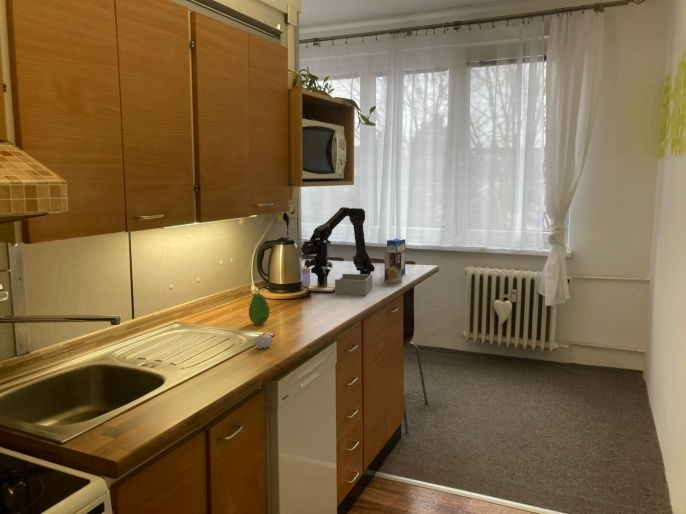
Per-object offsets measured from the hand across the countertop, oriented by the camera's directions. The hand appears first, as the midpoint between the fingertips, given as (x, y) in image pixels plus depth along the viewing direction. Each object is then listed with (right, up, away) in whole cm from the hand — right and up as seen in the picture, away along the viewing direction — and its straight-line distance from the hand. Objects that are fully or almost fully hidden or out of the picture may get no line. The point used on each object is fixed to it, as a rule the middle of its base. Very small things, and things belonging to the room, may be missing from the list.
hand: (322, 284), depth 277 cm
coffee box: (+37, 0, +21) cm, 43 cm away
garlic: (-16, -17, -91) cm, 94 cm away
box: (+16, -3, -3) cm, 16 cm away
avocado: (-22, -13, -61) cm, 67 cm away
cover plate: (0, -2, 0) cm, 2 cm away
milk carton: (+40, +3, +41) cm, 57 cm away
